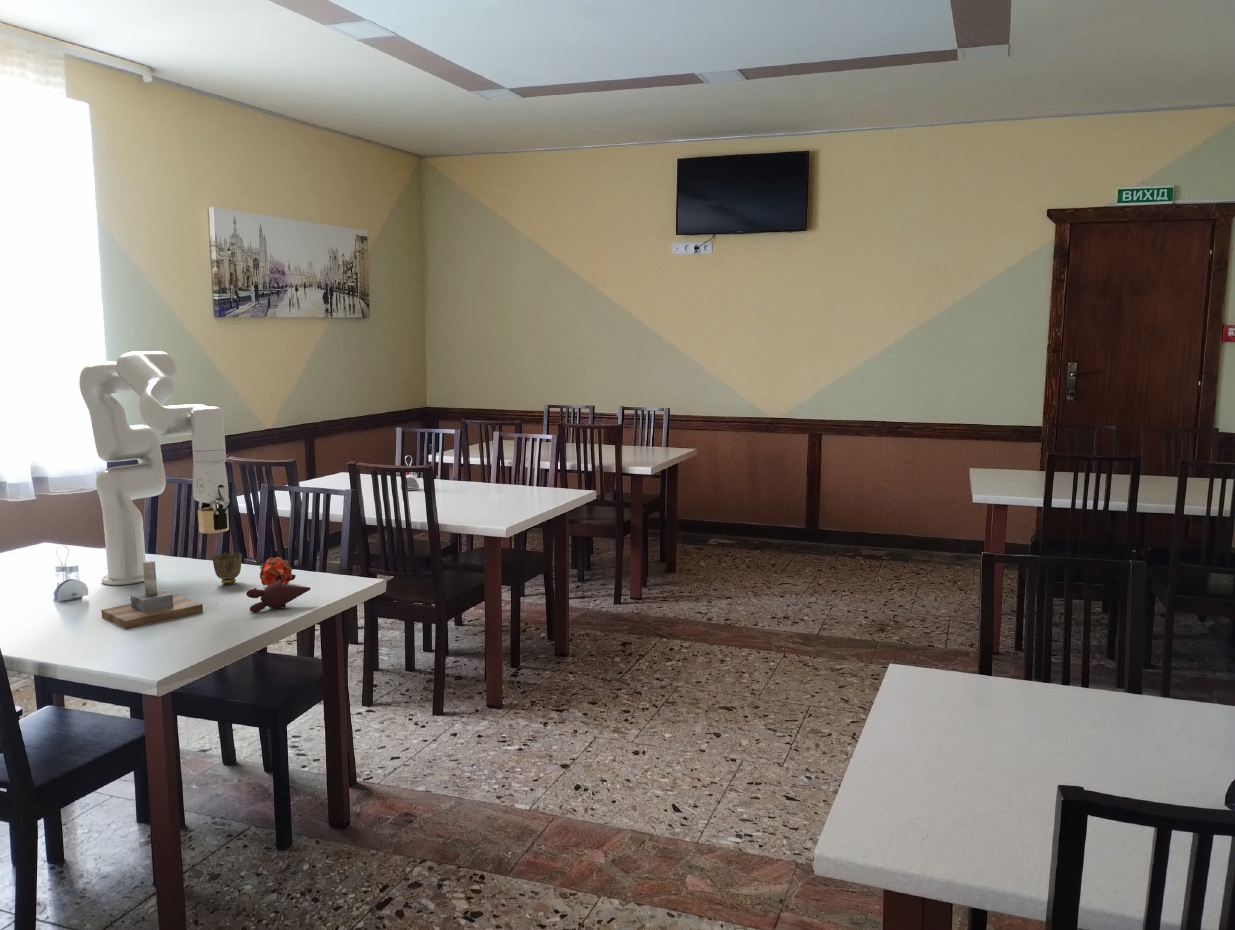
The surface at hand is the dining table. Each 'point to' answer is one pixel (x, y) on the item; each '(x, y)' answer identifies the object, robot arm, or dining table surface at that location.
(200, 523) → the hub
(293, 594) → the icecream
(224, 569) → the cup
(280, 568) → the dragon fruit
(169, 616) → the shaft stand
